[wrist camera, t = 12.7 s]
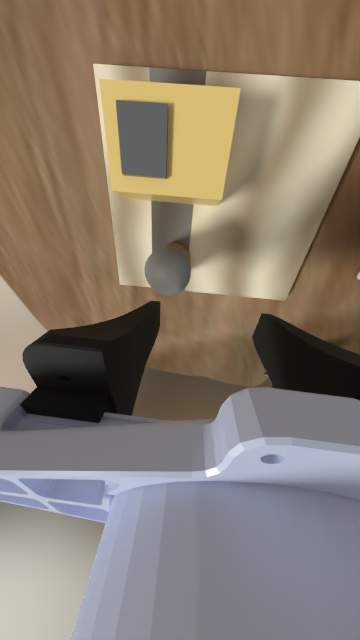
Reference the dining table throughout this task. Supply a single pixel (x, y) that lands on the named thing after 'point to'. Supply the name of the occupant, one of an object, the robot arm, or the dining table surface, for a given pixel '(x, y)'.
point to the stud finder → (168, 139)
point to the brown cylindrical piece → (169, 269)
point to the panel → (247, 184)
